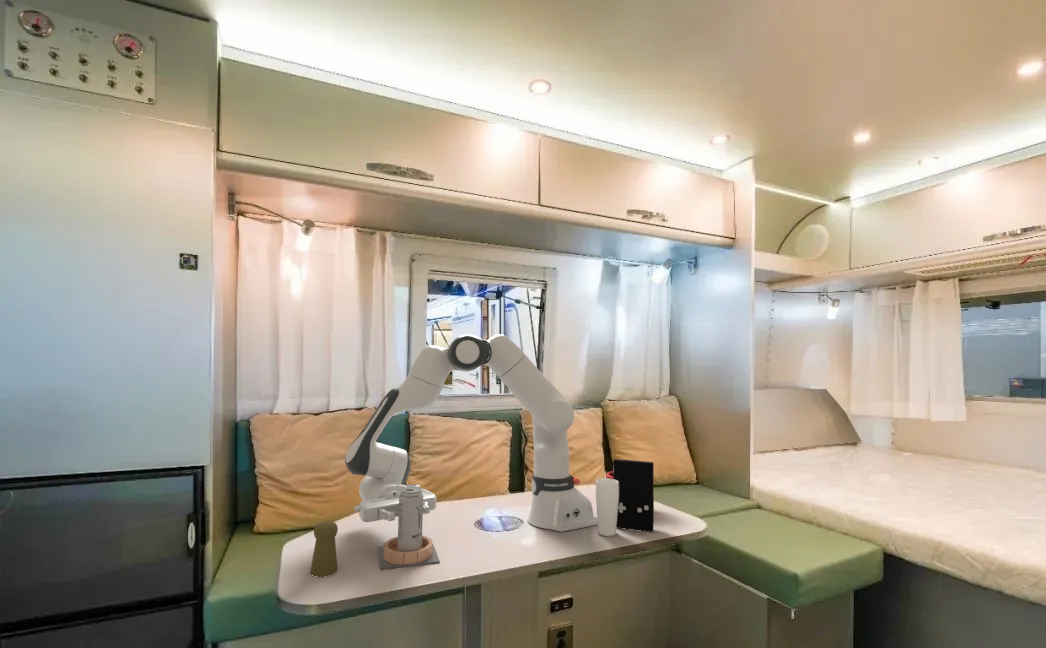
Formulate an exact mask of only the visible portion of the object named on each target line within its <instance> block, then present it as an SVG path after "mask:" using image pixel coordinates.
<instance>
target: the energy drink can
mask: <svg viewBox="0 0 1046 648" xmlns="http://www.w3.org/2000/svg"><path fill="white" fill-rule="evenodd" d="M421 489H422V488H421ZM421 489H420V488H416V487H410V488H404V489H402V493H401V495H400V496H399V516H398V519H397V520H398V522H397V525H398V526H397V537H398V545H397V548H398V549H399V551H400V552H410V551H417V550H419V549H420V548H421V547H422V536H423V523H424V522H423V520H424V519H423V515H424V514H423V494H422V492H421Z"/></svg>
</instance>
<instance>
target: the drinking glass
mask: <svg viewBox="0 0 1046 648" xmlns="http://www.w3.org/2000/svg"><path fill="white" fill-rule="evenodd" d="M595 504H596V515H597V519H598V525H597V533H598V534H599V535H600V536H604V537H614V536H616V534H617V532H618V531H617V528H618V527H617V515H618V504H619V481H617V480H614V479H608V478H606V477H603V478H597V479H596V480H595Z"/></svg>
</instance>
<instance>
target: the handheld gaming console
mask: <svg viewBox="0 0 1046 648" xmlns="http://www.w3.org/2000/svg"><path fill="white" fill-rule="evenodd" d="M612 467H613V468H612V471H613V479H614V480H617V481H619V504H618V515H617V528H619V529H622V528H625V529H624V530H629V529H633V530H632V531H637V530H641V531H640V532H654V519H655V517H654V516H655V513H654V511H655V509H654V507H655V505H654V504H655V503H654V502H655V500H654V494H655V493H654V488H655V487H654V483H655V482H654V477H655V476H654V475H655V472H654V470H655V469H654V468H655V467H654V462H653V461H644V460H643V461H641V460H633V459H632V460H631V459H630V460H629V459H621V458H620V459H618V458H614V459H613V465H612Z"/></svg>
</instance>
